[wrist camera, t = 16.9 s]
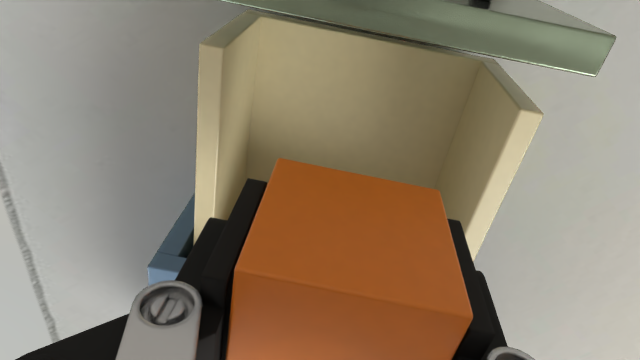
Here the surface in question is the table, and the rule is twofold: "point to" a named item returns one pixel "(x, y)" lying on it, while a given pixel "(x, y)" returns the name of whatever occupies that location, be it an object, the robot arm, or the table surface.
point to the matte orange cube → (347, 272)
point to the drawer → (380, 96)
